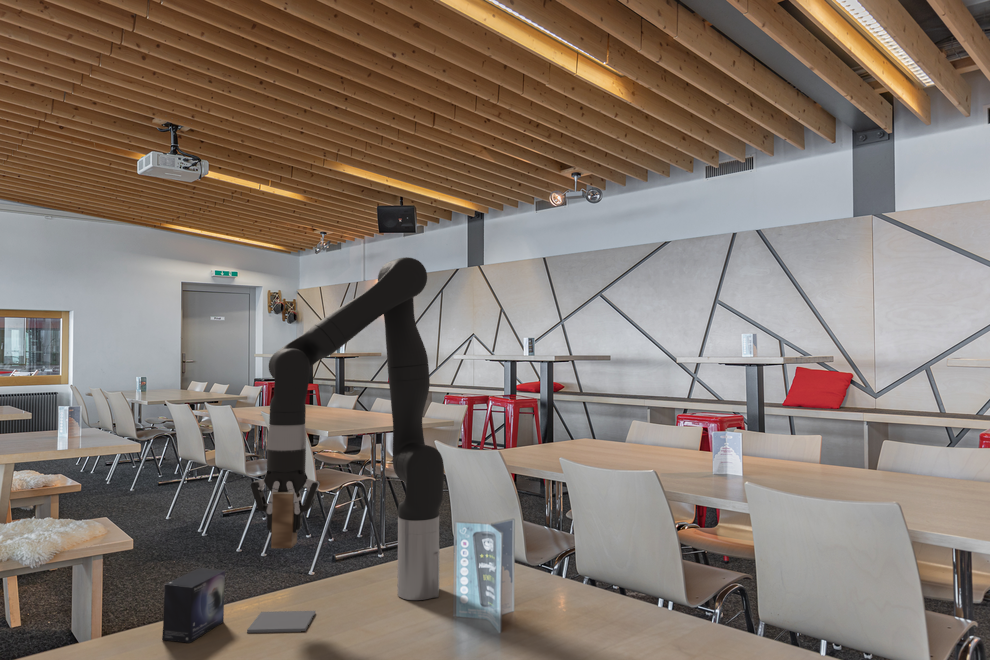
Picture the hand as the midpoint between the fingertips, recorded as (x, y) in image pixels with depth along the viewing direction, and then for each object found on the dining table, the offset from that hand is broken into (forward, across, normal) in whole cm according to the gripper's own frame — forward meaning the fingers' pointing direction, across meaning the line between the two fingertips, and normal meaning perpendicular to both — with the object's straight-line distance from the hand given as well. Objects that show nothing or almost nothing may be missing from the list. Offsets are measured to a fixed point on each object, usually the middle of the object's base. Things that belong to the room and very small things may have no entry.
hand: (284, 531), depth 134 cm
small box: (+18, +16, +4) cm, 24 cm away
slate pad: (+18, 0, +1) cm, 18 cm away
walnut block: (+3, 0, 0) cm, 3 cm away
